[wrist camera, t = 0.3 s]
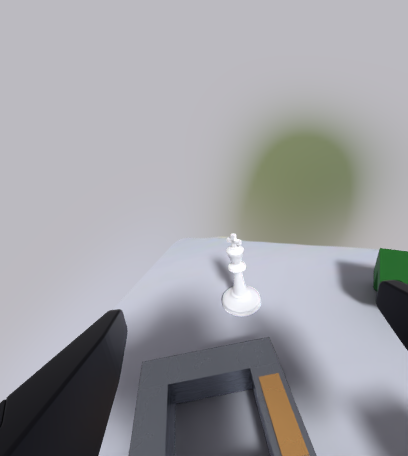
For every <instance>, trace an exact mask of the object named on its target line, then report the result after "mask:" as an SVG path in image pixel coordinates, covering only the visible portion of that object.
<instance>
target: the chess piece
mask: <svg viewBox="0 0 408 456" xmlns="http://www.w3.org/2000/svg"><path fill="white" fill-rule="evenodd" d="M230 236H231V237H228V238H227V242H229V243H232V246H229V247H228V248H227V250H226V252H227V255H228V256H229V258H230V260H231V263H230V264H229V266H228V269H229V271H231V272H233V273H234V286H233V287H231V288H229V289H228V290H227V291H226V292H225V293H224V295H223V301H222V303H223V307H224V309H225V310H226V311H227V312H228V313H230V314H232V315H234V316H248V315H251V314H253V313H255V312H256V311H257V310H258V309H259V308H260V305H261V298H260V295H259V293H258V291H257V290H256V289H254V288H253V287H251V286H247V285H245V281H244V278H243V274H242V272H243V271H244V270H245V269H246V264H245V263H244V262H243V261H241V260H242V256H243V253H244V248H243V247H242V246H240V244H242V243H241V240H239V239H236V234H233V233H232V234H231V235H230Z"/></svg>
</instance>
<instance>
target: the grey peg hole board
mask: <svg viewBox="0 0 408 456" xmlns="http://www.w3.org/2000/svg"><path fill="white" fill-rule="evenodd" d="M249 389H253V392H254V396H255V400H256V403H257V407H258V411H259V415H260V418H261V422H262V426H263V430H264V434H265V437H266V441H267V445H268V449H269V452H270V456H316V453H315V451H314V448H313V446H312V443H311V441H310V438H309V436H308V433H307V431H306V428H305V426H304V423H303V421H302V418H301V416H300V413H299V411H298V408H297V406H296V403H295V401H294V398H293V396H292V393H291V390H290V388H289V385H288V383H287V380H286V378H285V375H284V373H283V370H282V368H281V365H280V363H279V360H278V358H277V355H276V353H275V350H274V348H273V345H272V343H271V340H270V338H269V337H267V338H262V339H256V340H251V341H246V342H241V343H236V344H231V345H226V346H221V347H216V348H211V349H206V350H201V351H196V352H191V353H185V354H180V355H175V356H170V357H165V358H160V359H155V360H150V361H145V362H142V368H141V375H140V382H139V389H138V396H137V402H136V409H135V416H134V423H133V430H132V437H131V443H130V450H129V456H175V414H176V404H178V403H183V402H188V401H193V400H198V399H203V398H208V397H213V396H218V395H224V394H229V393H234V392H239V391H244V390H249Z"/></svg>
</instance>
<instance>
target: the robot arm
mask: <svg viewBox="0 0 408 456" xmlns="http://www.w3.org/2000/svg"><path fill="white" fill-rule="evenodd" d="M376 304H377V307H378V309H379V310H380V311H381V313H382V314H383V316H384V317H385V319H386V320H387V322H388V323H389V325H390V326H391V328H392V329H393V330H394V332H395V333H396V335H397V336H398V338H399V339H400V341H401V342H402V343H403V345H404V346H405V348H406V349H407V350H408V284H406V283H403V282H400V281H397V280H386V281H381V282H380V284H379V287H378V292H377V297H376ZM126 339H127V326H126V322H125V318H124V315H123V312H122V310H120V309H118V310H110V311H108V312H107V313H105V314H104V315H103V316H102V317H101V318H100V319H98V320H97V321H96V322H95V323H94V324H93V325H91V326H90V327H89V328H88V329H87V330H86V331H84V332H83V333H82V334H81V335H80V336H78V337H77V338H76V339H75V340H74V341H73V342H71V343H70V344H69V345H68V346H67V347H66V348H64V349H63V350H62V351H61V352H60V353H58V354H57V355H56V356H55V357H54V358H53V359H51V360H50V361H49V362H48V363H47V364H45V365H44V366H43V367H42V368H41V369H40V370H38V371H37V372H36V373H35V374H34V375H33V376H31V377H30V378H29V379H28V380H27V381H25V382H24V383H23V384H22V385H21V386H20V387H19V388H17V389H16V390H15V391H14V392H13V393H11V394H10V395H9V396H8V397H7V399H6V400H3V401H2V402H1V403H0V456H98V455H99V451H100V448H101V444H102V441H103V437H104V433H105V430H106V426H107V423H108V419H109V416H110V412H111V408H112V405H113V401H114V398H115V394H116V391H117V387H118V383H119V379H120V374H121V368H122V362H123V356H124V350H125V345H126Z"/></svg>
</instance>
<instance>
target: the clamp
mask: <svg viewBox="0 0 408 456" xmlns="http://www.w3.org/2000/svg"><path fill="white" fill-rule="evenodd" d="M386 280H397V281H400V282H403V283H406V284H408V252H407V251H399V250H391V249H382V248H380V250H379V253H378V257H377V261H376V265H375V269H374V283H373V287H374V289H375V290H376V291H377V292H378V287H379V284H380V282H381V281H386Z"/></svg>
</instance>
